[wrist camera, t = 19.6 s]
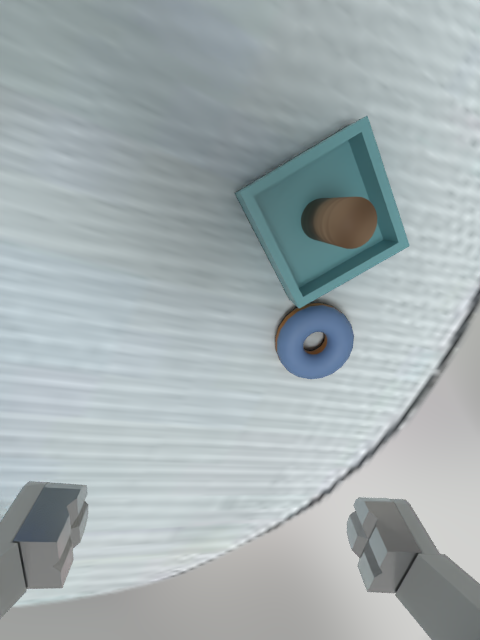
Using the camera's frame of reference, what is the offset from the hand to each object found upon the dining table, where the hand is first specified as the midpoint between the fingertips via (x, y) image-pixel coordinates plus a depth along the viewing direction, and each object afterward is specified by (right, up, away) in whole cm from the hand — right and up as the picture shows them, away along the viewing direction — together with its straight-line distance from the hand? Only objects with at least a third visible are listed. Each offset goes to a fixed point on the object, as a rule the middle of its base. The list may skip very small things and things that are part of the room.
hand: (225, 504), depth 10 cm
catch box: (+9, +17, +27) cm, 34 cm away
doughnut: (+10, +4, +33) cm, 34 cm away
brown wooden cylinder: (+9, +17, +26) cm, 33 cm away
